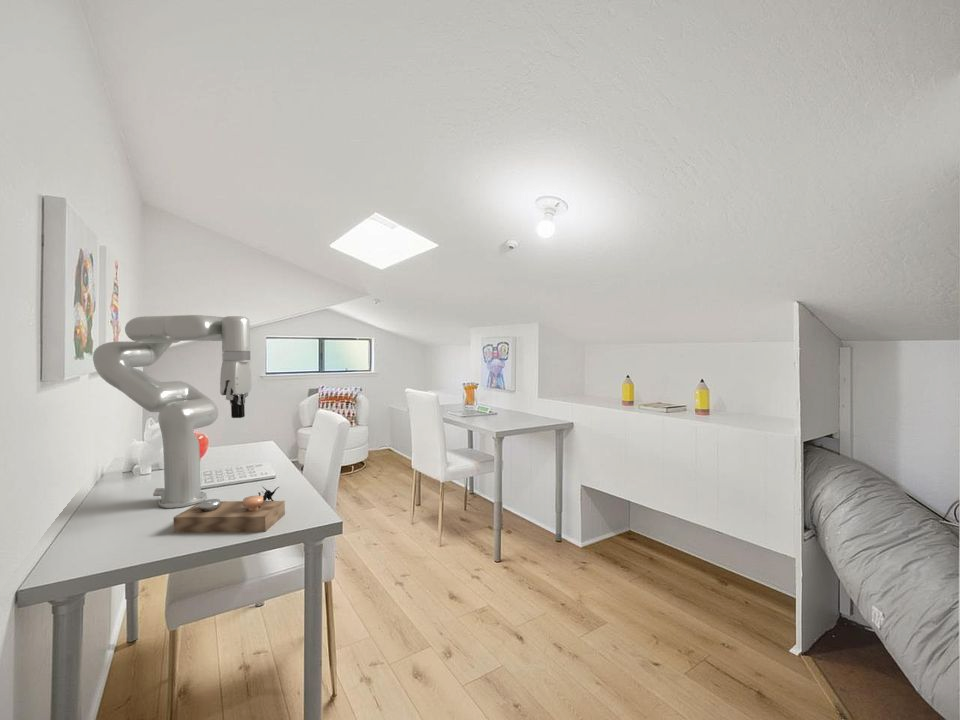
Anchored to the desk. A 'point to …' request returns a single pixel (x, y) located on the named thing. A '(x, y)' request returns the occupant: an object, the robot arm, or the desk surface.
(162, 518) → the desk surface
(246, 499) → the terracotta plug
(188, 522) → the block
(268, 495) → the creature
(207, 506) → the grey plug
